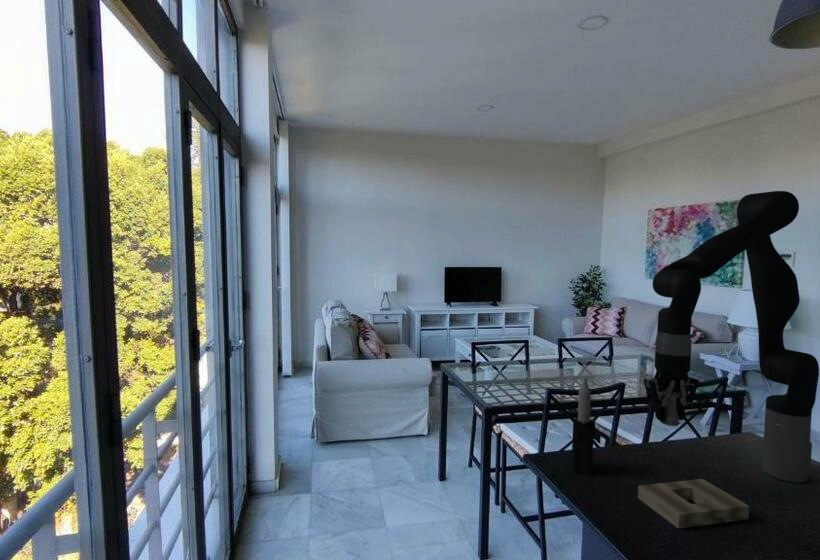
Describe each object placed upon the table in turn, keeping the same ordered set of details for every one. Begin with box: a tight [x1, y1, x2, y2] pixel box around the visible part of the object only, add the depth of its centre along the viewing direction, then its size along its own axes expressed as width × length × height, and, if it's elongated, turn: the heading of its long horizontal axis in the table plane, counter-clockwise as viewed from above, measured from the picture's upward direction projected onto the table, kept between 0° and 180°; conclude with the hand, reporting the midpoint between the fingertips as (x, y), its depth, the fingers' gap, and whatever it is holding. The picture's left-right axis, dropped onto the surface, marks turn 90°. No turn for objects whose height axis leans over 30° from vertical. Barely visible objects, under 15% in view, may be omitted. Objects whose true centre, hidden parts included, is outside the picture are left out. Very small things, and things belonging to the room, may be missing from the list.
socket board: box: [637, 478, 750, 529], centre depth 101 cm, size 18×12×3 cm, turn 102°
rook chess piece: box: [659, 391, 681, 427], centre depth 109 cm, size 4×4×8 cm
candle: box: [570, 377, 595, 476], centre depth 118 cm, size 5×5×25 cm
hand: (669, 419), depth 109 cm, fingers closed on rook chess piece, 4 cm apart
